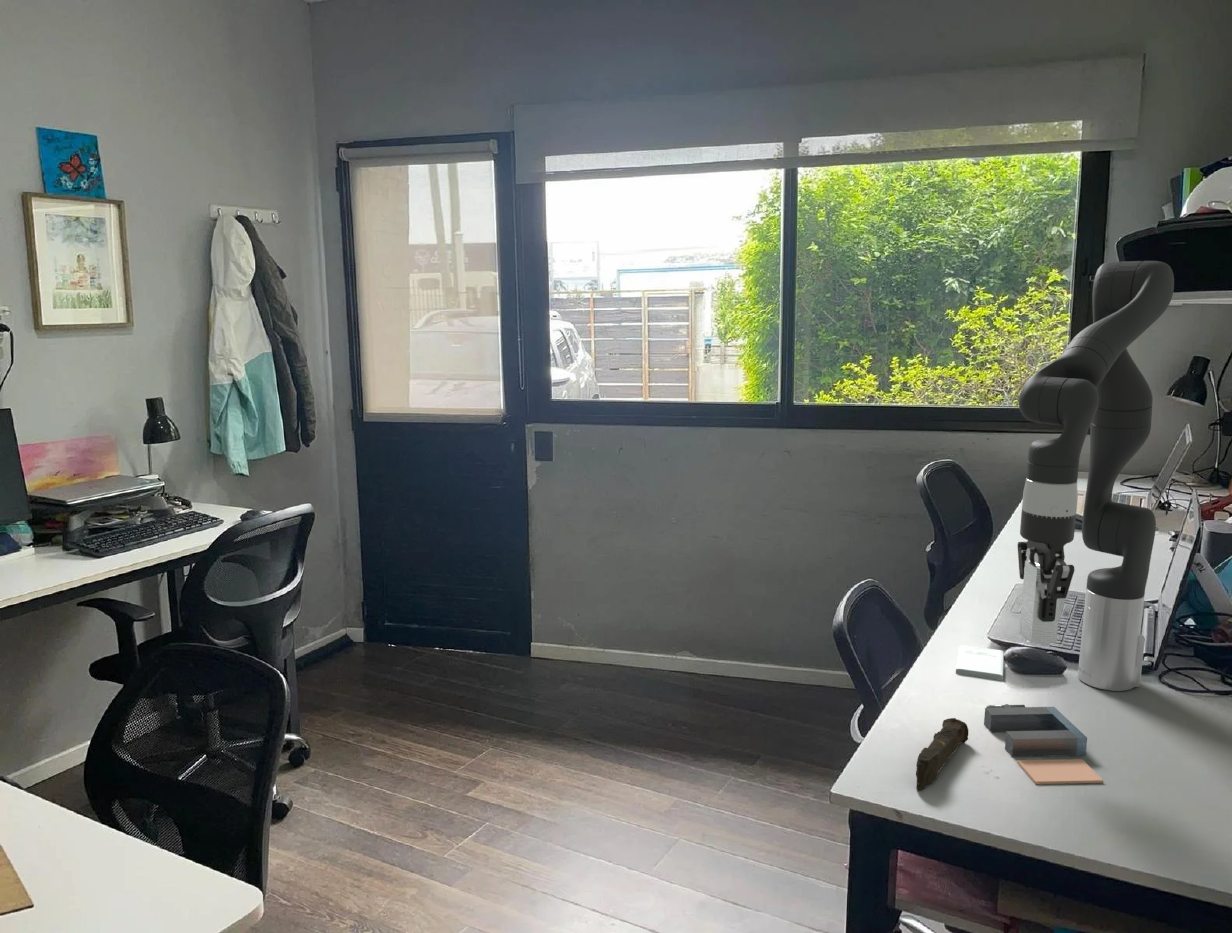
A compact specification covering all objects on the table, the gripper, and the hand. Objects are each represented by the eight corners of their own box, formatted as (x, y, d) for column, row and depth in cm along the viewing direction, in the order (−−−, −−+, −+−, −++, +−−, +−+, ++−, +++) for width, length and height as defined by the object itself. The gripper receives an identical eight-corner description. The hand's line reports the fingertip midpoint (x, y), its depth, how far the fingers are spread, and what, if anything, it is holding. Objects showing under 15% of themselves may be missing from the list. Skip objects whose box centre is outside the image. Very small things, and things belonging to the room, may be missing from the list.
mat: (1081, 761, 141) (1081, 759, 140) (1102, 782, 135) (1103, 780, 135) (1016, 762, 140) (1017, 760, 140) (1035, 783, 134) (1035, 781, 134)
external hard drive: (955, 676, 172) (958, 651, 183) (1002, 683, 169) (1003, 657, 180) (955, 668, 172) (959, 643, 183) (1003, 674, 169) (1003, 649, 180)
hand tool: (943, 736, 149) (944, 710, 148) (968, 744, 147) (970, 717, 146) (898, 787, 134) (900, 758, 134) (925, 796, 132) (927, 767, 131)
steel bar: (1044, 632, 146) (1050, 560, 143) (1056, 642, 142) (1063, 568, 139) (1019, 633, 146) (1025, 560, 143) (1030, 642, 142) (1037, 568, 139)
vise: (1042, 713, 156) (1044, 697, 155) (1085, 755, 142) (1087, 737, 142) (975, 714, 156) (976, 698, 155) (1011, 756, 142) (1013, 739, 141)
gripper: (1098, 520, 133) (1087, 632, 136) (1050, 497, 147) (1041, 599, 150) (1046, 521, 133) (1037, 633, 136) (1004, 497, 146) (996, 600, 150)
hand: (1039, 614), depth 143 cm, fingers closed on steel bar, 4 cm apart
